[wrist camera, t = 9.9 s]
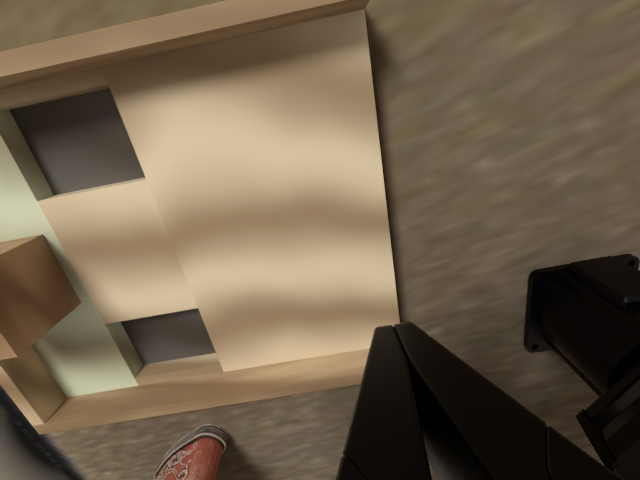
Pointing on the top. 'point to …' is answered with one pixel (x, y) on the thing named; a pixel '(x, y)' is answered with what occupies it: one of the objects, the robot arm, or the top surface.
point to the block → (30, 293)
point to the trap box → (198, 209)
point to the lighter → (194, 455)
